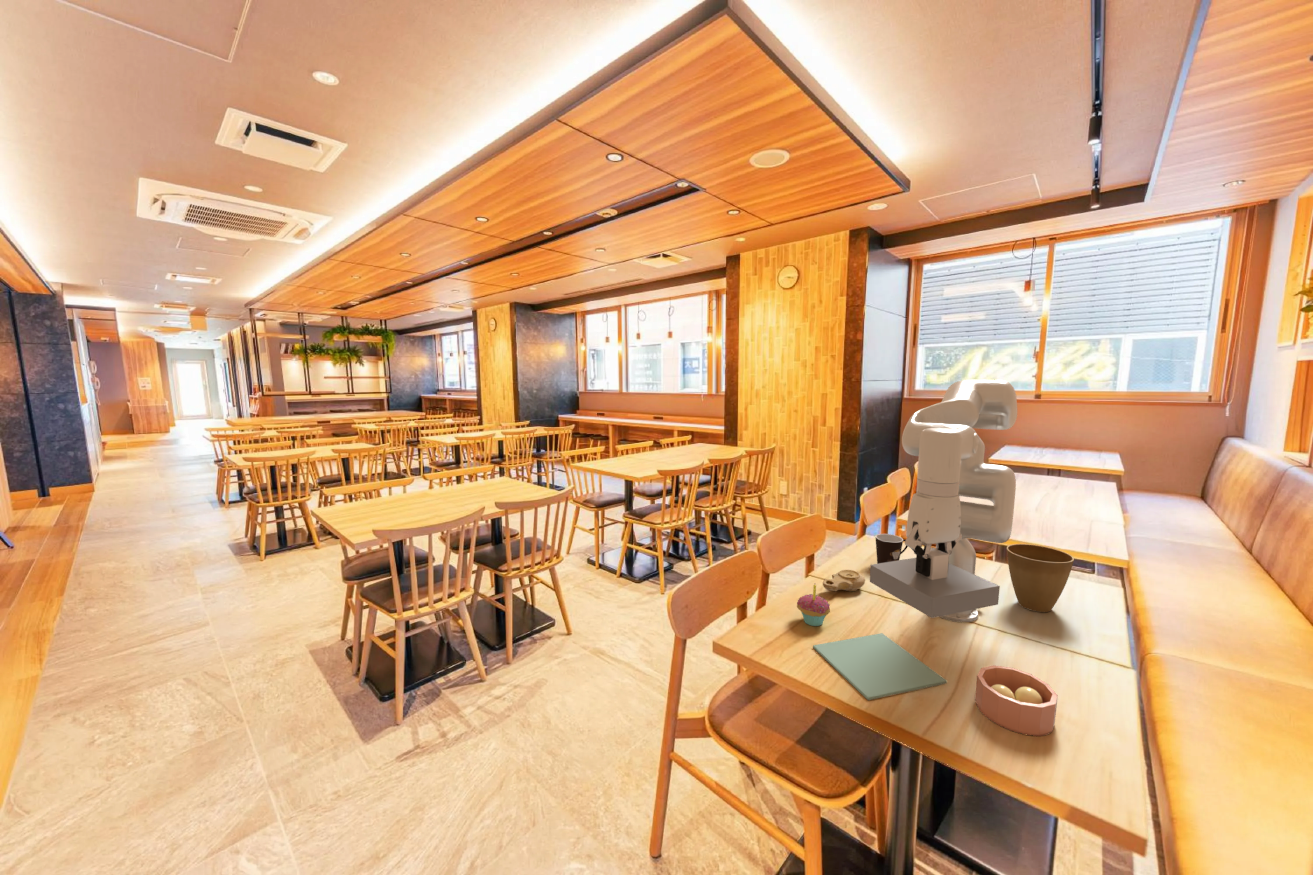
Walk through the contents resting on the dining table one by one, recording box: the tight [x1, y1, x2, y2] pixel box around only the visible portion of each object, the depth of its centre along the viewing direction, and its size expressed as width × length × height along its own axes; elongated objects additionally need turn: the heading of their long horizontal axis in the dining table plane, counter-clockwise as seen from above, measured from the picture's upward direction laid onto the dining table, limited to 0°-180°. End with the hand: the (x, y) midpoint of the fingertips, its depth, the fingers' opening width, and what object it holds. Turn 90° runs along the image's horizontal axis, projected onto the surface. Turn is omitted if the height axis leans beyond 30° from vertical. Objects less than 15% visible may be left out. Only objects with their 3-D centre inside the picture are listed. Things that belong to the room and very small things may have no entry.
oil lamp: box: [822, 569, 866, 592], centre depth 150 cm, size 11×14×5 cm
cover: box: [869, 547, 1001, 619], centre depth 103 cm, size 17×17×9 cm
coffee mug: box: [874, 533, 909, 564], centre depth 167 cm, size 12×9×10 cm
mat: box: [812, 632, 948, 701], centre depth 113 cm, size 20×20×1 cm
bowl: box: [974, 664, 1059, 737], centre depth 96 cm, size 12×12×6 cm
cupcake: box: [796, 584, 831, 627], centre depth 131 cm, size 9×8×12 cm
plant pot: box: [1006, 543, 1075, 613], centre depth 138 cm, size 15×15×16 cm
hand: (931, 571), depth 103 cm, fingers closed on cover, 4 cm apart
